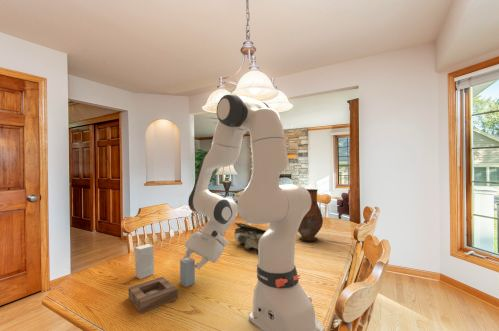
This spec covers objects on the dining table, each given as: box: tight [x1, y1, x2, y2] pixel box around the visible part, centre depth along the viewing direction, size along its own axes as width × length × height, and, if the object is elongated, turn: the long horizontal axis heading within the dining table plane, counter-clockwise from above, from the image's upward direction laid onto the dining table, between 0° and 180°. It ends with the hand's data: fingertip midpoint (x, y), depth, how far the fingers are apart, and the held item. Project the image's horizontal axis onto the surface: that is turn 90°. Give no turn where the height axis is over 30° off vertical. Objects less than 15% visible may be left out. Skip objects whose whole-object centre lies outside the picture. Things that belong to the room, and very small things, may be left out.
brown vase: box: [297, 188, 324, 243], centre depth 146 cm, size 17×21×30 cm
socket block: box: [128, 276, 178, 314], centre depth 85 cm, size 12×12×4 cm
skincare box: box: [134, 243, 155, 280], centre depth 102 cm, size 6×4×12 cm
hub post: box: [179, 256, 196, 288], centre depth 95 cm, size 4×4×9 cm
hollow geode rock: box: [234, 222, 267, 250], centre depth 134 cm, size 28×13×15 cm
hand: (190, 264), depth 96 cm, fingers open, 8 cm apart
